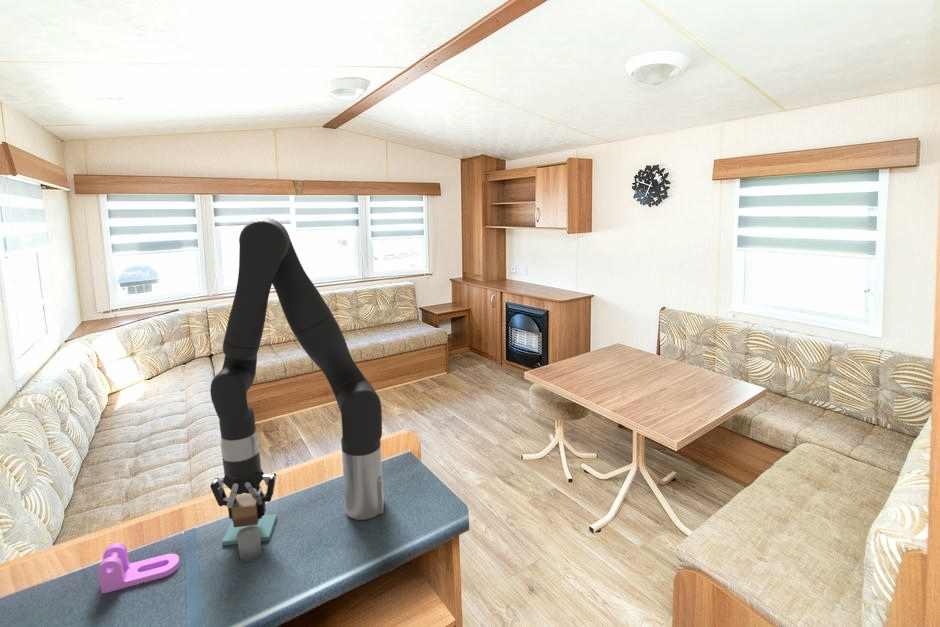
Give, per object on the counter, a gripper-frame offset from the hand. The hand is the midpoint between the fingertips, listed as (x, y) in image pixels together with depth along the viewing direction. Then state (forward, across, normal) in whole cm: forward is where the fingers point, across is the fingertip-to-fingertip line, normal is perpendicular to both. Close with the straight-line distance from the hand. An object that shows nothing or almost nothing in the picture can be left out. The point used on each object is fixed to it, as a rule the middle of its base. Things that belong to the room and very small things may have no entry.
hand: (248, 517), depth 112 cm
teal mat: (+4, 0, 0) cm, 4 cm away
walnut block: (0, 0, 0) cm, 0 cm away
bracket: (+4, -18, -10) cm, 21 cm away
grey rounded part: (+4, +2, -8) cm, 9 cm away
